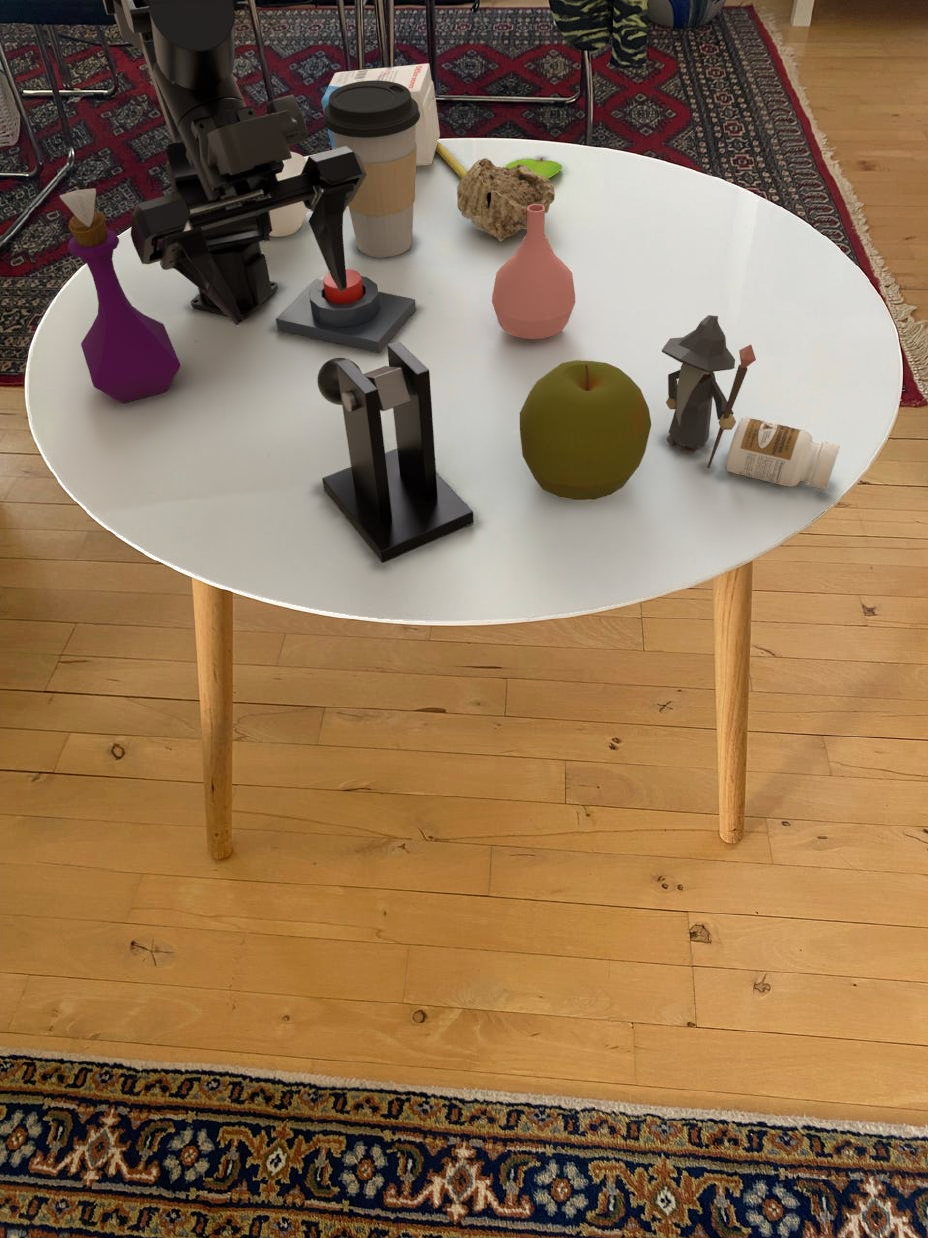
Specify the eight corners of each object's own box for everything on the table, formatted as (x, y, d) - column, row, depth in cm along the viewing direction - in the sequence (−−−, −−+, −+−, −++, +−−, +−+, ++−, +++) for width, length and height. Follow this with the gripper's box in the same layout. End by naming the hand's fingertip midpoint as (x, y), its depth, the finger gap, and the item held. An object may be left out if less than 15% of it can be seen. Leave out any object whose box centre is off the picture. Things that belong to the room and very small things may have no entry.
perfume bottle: (91, 374, 91) (20, 178, 77) (172, 354, 93) (116, 159, 79) (105, 418, 86) (32, 219, 73) (189, 396, 88) (134, 198, 75)
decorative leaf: (580, 175, 115) (580, 166, 114) (521, 198, 111) (521, 189, 111) (537, 156, 119) (537, 148, 118) (479, 178, 116) (479, 169, 115)
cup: (232, 229, 109) (219, 167, 104) (302, 197, 113) (293, 136, 108) (276, 252, 105) (264, 189, 100) (346, 218, 110) (339, 156, 105)
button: (318, 301, 93) (315, 283, 92) (336, 282, 95) (334, 265, 94) (352, 308, 92) (350, 291, 91) (369, 289, 94) (367, 272, 93)
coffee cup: (444, 236, 106) (437, 87, 95) (394, 275, 101) (381, 122, 90) (374, 216, 110) (359, 70, 99) (321, 252, 105) (300, 103, 94)
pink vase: (537, 364, 90) (541, 238, 81) (475, 334, 93) (472, 210, 84) (590, 328, 93) (599, 204, 84) (528, 301, 97) (531, 179, 88)
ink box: (336, 174, 117) (432, 166, 115) (319, 99, 111) (420, 89, 109) (350, 143, 123) (442, 135, 121) (334, 70, 117) (431, 60, 115)
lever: (319, 409, 79) (305, 365, 77) (359, 394, 80) (346, 350, 78) (377, 423, 68) (361, 372, 67) (422, 405, 69) (407, 355, 68)
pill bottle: (745, 404, 77) (846, 427, 75) (735, 447, 81) (831, 471, 79) (730, 438, 75) (834, 463, 73) (721, 481, 78) (820, 506, 76)
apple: (551, 538, 74) (557, 419, 66) (497, 464, 80) (496, 346, 72) (665, 500, 77) (685, 381, 69) (605, 431, 83) (616, 314, 75)
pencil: (427, 142, 121) (433, 146, 122) (469, 188, 113) (476, 193, 113) (432, 135, 121) (438, 139, 122) (475, 181, 112) (481, 185, 113)
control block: (277, 329, 95) (272, 301, 93) (318, 289, 100) (314, 261, 97) (379, 353, 92) (376, 324, 90) (416, 310, 97) (414, 281, 94)
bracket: (323, 489, 79) (299, 350, 70) (410, 454, 82) (398, 316, 72) (382, 563, 73) (364, 422, 64) (474, 523, 76) (469, 382, 66)
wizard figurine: (637, 442, 82) (653, 311, 73) (676, 411, 84) (697, 281, 75) (722, 485, 78) (750, 353, 69) (761, 452, 80) (793, 320, 71)
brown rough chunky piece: (483, 274, 106) (569, 232, 103) (454, 222, 101) (544, 176, 98) (471, 215, 113) (552, 174, 110) (444, 163, 107) (528, 119, 104)
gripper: (97, 91, 67) (193, 309, 69) (341, 34, 73) (424, 235, 75) (97, 165, 78) (180, 353, 80) (311, 110, 84) (384, 285, 86)
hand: (293, 306), depth 80 cm, fingers open, 9 cm apart
